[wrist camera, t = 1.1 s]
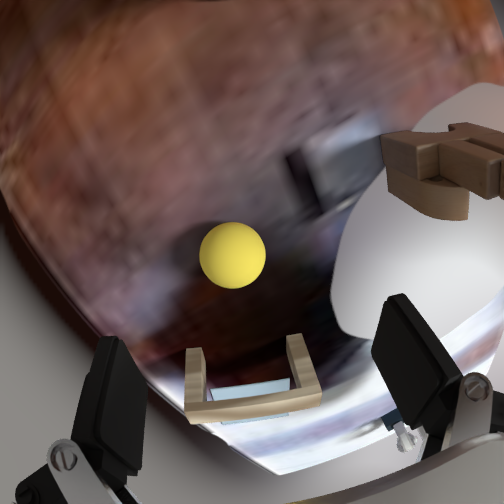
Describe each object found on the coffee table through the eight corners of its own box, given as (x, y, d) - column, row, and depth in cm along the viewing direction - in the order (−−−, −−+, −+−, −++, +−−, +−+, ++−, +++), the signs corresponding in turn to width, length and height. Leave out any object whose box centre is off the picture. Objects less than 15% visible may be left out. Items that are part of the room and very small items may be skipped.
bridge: (186, 348, 36) (184, 411, 28) (301, 333, 37) (322, 392, 29) (191, 363, 38) (190, 424, 29) (300, 348, 39) (319, 405, 30)
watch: (385, 423, 59) (400, 458, 49) (379, 414, 55) (396, 452, 45) (405, 412, 58) (421, 446, 48) (401, 402, 54) (419, 439, 45)
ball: (195, 216, 28) (192, 245, 23) (258, 209, 28) (269, 235, 23) (205, 269, 31) (204, 305, 26) (261, 262, 31) (272, 296, 26)
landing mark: (210, 388, 41) (210, 389, 41) (289, 377, 42) (289, 378, 42) (222, 423, 47) (222, 424, 47) (288, 414, 48) (288, 415, 48)
